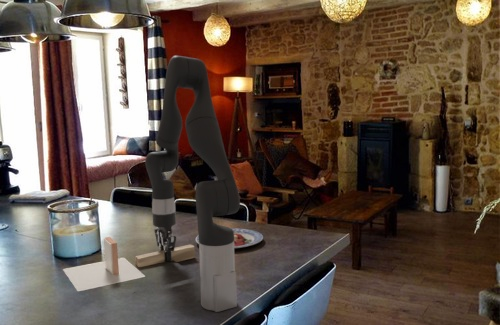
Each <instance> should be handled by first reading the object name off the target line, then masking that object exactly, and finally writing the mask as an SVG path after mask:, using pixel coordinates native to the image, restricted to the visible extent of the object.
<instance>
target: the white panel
mask: <svg viewBox="0 0 500 325" xmlns="http://www.w3.org/2000/svg"><path fill="white" fill-rule="evenodd" d="M118 267H119V274H117V275H112V274H111V273H110V272H109V271H108V270H107V269H106V267H105V260H104V261H99V262H93V263H88V264H82V265H77V266H72V267H71V266H70V267H66V268H62V271H63V272H64V274H65V275H66V276H67V278H68V280H69V281H70V282H71V284H72V285H73V287H74V288H75V290H76V291H77V292H84V291H86V290H93V289H96V288H101V287H105V286H109V285H115V284H118V283H125V282H128V281H134V280H138V279H143V278H146V275H145V274H144V273H143V272H142V271H141V270H139V269H138V268H137V267H136V266H135V265H134V264H132V263H131V262H130V261H128V259H126V258H125V256H124V257H120V258H119V257H118Z"/></svg>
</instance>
